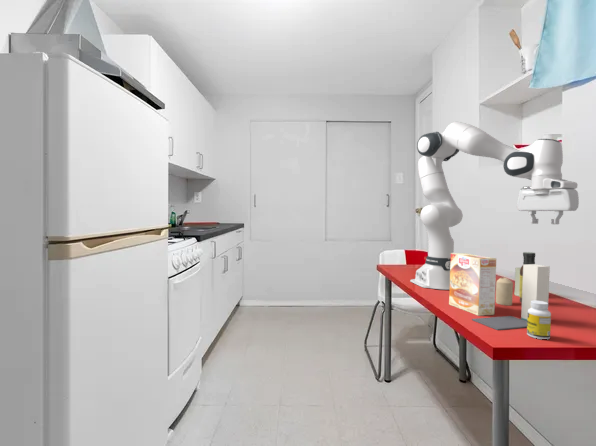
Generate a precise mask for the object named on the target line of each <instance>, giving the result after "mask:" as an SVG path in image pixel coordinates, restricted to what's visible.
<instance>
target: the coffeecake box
mask: <svg viewBox="0 0 596 446" xmlns="http://www.w3.org/2000/svg"><path fill="white" fill-rule="evenodd" d="M496 277H497V257H495V258H494V257H489V256H483V255H478V254H477V255H476V254H473V253H472V254H471V253H465V252H462V253H461V252H460V253H459V252H454V253H451V262H450V290H449V295H448V297H449V299H448V305H450V306H452V307H454V308H457V309H460V310H462V311H464V312H467V313H470V314H473V315H475V316H478V317H479V316H480V317H481V316H483V317H484V316H494V315H495V306H496V305H495V304H496V281H497V279H496Z"/></svg>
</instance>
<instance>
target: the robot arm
mask: <svg viewBox="0 0 596 446" xmlns="http://www.w3.org/2000/svg"><path fill="white" fill-rule="evenodd" d="M416 150H417V152H418V153H419V154H420V156H421V157H420V158H419V159H418V161H417V170H418V177H419V181H420V184H421V190H422V193H423V197H425V198H426V199H427V201H428V202H429V204H428V205H426V206H423V208H422V209H421V211H420V216H419V218H420V220H421V222H422V224H423V225H424V226H425V227H424V228H425V231H426V234H427V241H428V243H427V245H428V247H427V249H428V250H427V256H424V259H425V261H424V262H425V263H424V264H423V265H422V266H420V267H419V268H418V269H416V271H415V278H411V279H410V281H409V282H410V283H413V284H414V285H417V286H419V287H421V288H424V289H426V288H428V289H432V290H433V289H436V290H449V291H450V262H451V253H455V252H454V251H455V250H454V249H455V239H453V238H452V234H451V232H450V228H452V227H455V226H457V225H459V224H460V223H461V222H462V220H463V218H464V217H463V216H464V215H463V211H462V210H461V208H460V207H459V206H458V205H457V203H456V202H455V200H454V197H453V196H452V194H451V192H450V190H449V187H448V184H447V180H446V175H445V172H444V169H443V162H448V161H450V159H451V158H453V157H455V156H456V155H457V154H458V153H459V152H463V153H464V154H467V155H472V156H475V157H483V158H484V157H485V158H491V159H494V160H499V161H501V162H503V164H502V165H503V170H504V172H505V174H507V175H508V176H510V177H513V178H514V177H515V178H519V179H525V180H530V183H531V184H530V185H529V186H523V187H522V188H520V190H519V193H518V197H517V203H516V209H517V210H518V211H520V212H528V217H529V218H530V223H531V225H533V224H536V225H538V224H539V218H537V217H536V214H537V212H554V214H555V216H554V218H550V219H551V222H550V223H551V225H559V224H560V219H561V218H562V217H563V215H564V212H572V211H573V212H575V211H577V210H578V209H579V203H580V202H579V197H580V196H579V193H578V190H576V189H578V183H577V182H576V181H571V180H568V179H567V180H566V179H563V173H562V166H563V162H564V161H563V158H564V157H563V156H564V155H563V145H562V143H561V142H560V141H559V140H556V139H552V138H538V139H535V140H534V141H533V142H532V143H531V144H529V145H528V146H526V147H524V148H522V149H520V150H519V149H517V148H514V147H513V146H510V145H507V144H506V143H503V142H501V141H500V140H499V139H497V138H495V137H494V136H492V135H490V134H489V133H487V132H486V131H484V130H483V129H481V128H480V127H479V128H478V127H477V126H475V125H472V124H469V123H467V122H462V121H453V122H451V123H449V124H448V125H447V126H446V128H445V129H444V131H442V132H439V131H432V132H428V133H424V134H423V135H421V136H420V137H419V138H418V139H417V142H416Z"/></svg>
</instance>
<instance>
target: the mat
mask: <svg viewBox="0 0 596 446" xmlns="http://www.w3.org/2000/svg"><path fill="white" fill-rule="evenodd" d="M471 321H473V322H476V323H478V324H480V325H483V326H485V327H488V328H491V329H494V330H497V331H503V330H504V331H505V330H514V329H525V328H526V329H527V321H526V320H523V319H521V318H519V317H516V316H512V315H506V316H492V317H491V316H490V317H479V318H478V317H477V318H471Z"/></svg>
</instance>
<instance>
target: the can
mask: <svg viewBox="0 0 596 446" xmlns="http://www.w3.org/2000/svg"><path fill="white" fill-rule="evenodd" d="M520 268H521V267H515V271H514V272H515V274H514V279H515V280H514V292H513V296H516V297H519V285H520Z"/></svg>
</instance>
